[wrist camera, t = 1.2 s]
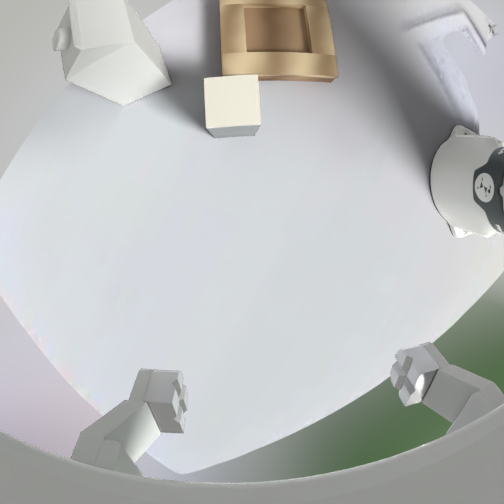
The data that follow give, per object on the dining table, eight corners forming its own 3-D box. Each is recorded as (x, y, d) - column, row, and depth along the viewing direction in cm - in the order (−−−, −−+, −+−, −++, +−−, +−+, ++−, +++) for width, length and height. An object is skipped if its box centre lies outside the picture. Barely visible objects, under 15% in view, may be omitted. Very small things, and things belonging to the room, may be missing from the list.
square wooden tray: (318, 2, 28) (324, -8, 25) (330, 82, 32) (338, 75, 29) (220, 1, 27) (219, -11, 24) (223, 82, 31) (222, 75, 28)
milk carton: (159, 44, 29) (106, -30, 11) (172, 85, 31) (117, 22, 13) (112, 66, 29) (36, 14, 11) (124, 107, 31) (39, 71, 13)
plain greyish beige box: (252, 98, 32) (257, 74, 23) (254, 135, 34) (261, 123, 24) (212, 101, 32) (203, 78, 22) (214, 138, 33) (206, 127, 24)
